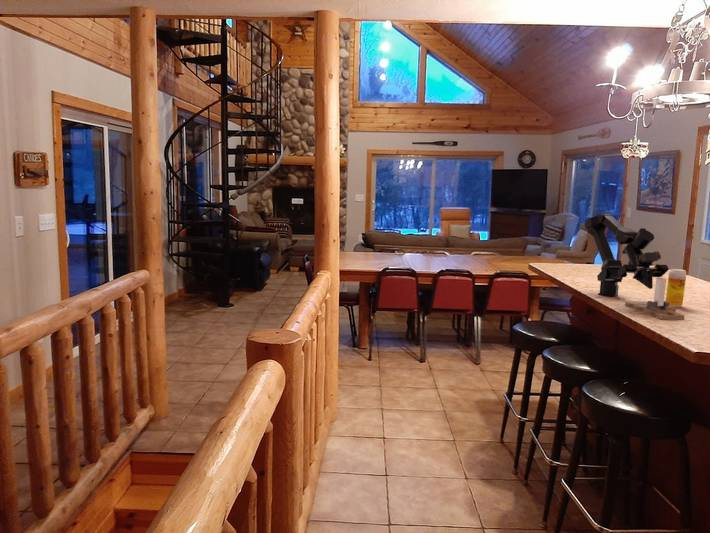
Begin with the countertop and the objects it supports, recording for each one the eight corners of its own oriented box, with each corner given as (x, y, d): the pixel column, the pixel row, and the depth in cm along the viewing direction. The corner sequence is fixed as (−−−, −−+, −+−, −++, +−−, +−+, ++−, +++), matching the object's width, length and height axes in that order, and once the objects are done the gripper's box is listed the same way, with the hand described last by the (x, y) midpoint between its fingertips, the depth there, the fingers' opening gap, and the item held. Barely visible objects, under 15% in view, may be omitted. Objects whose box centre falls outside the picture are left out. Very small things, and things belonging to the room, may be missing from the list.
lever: (651, 307, 204) (655, 277, 202) (659, 306, 204) (663, 277, 203) (655, 308, 202) (659, 278, 200) (664, 308, 202) (667, 279, 200)
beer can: (673, 308, 213) (678, 271, 211) (661, 304, 219) (665, 268, 217) (685, 307, 215) (690, 271, 213) (673, 303, 221) (677, 268, 218)
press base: (624, 305, 216) (625, 293, 215) (645, 305, 217) (646, 293, 216) (661, 319, 195) (663, 306, 194) (684, 319, 196) (685, 306, 195)
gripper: (625, 244, 208) (639, 276, 199) (668, 244, 211) (685, 276, 202) (611, 260, 217) (624, 292, 208) (653, 260, 220) (668, 292, 211)
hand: (651, 288), depth 207 cm, fingers closed
